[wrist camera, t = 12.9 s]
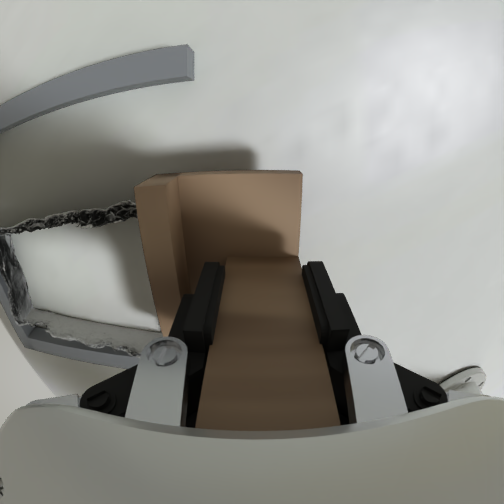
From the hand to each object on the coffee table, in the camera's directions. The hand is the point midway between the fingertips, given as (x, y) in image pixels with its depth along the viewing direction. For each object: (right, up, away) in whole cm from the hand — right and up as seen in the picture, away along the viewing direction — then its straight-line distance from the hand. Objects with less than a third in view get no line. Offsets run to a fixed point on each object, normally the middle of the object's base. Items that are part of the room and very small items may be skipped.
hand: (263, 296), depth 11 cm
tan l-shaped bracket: (-1, +1, +2) cm, 3 cm away
